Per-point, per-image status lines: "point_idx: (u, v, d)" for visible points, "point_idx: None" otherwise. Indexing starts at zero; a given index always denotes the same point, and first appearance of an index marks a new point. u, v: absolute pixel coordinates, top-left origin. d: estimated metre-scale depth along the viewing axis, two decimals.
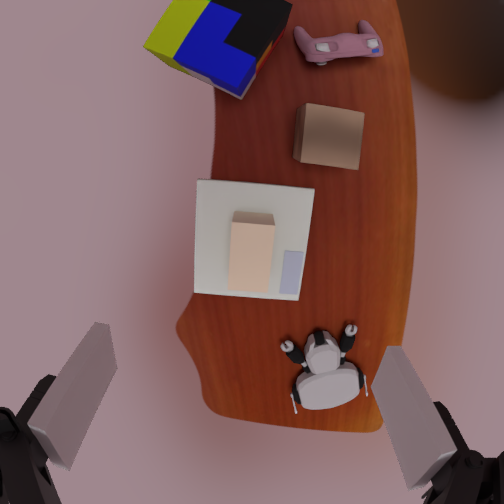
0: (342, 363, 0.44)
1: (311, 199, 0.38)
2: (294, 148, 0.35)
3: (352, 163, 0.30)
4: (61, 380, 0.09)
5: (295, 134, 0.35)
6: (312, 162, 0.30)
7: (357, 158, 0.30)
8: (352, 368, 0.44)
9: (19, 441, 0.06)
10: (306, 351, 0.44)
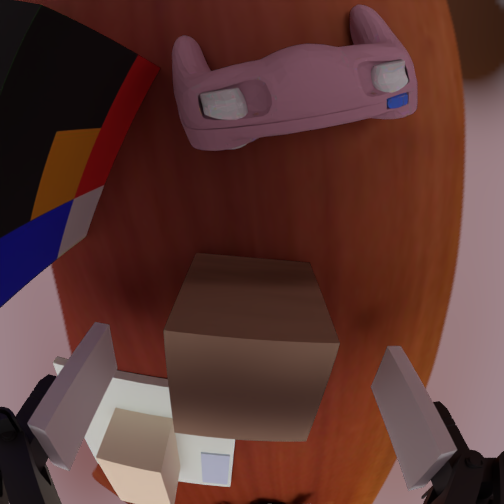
0: None
1: None
2: None
3: (292, 434, 0.12)
4: (61, 380, 0.09)
5: None
6: (200, 434, 0.12)
7: (306, 427, 0.12)
8: None
9: (19, 441, 0.06)
10: None
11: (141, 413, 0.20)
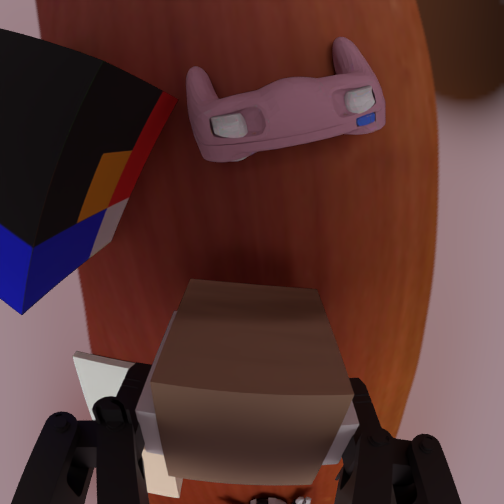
0: None
1: None
2: None
3: (296, 479, 0.10)
4: None
5: None
6: (196, 478, 0.10)
7: (312, 472, 0.10)
8: None
9: (126, 433, 0.08)
10: None
11: None
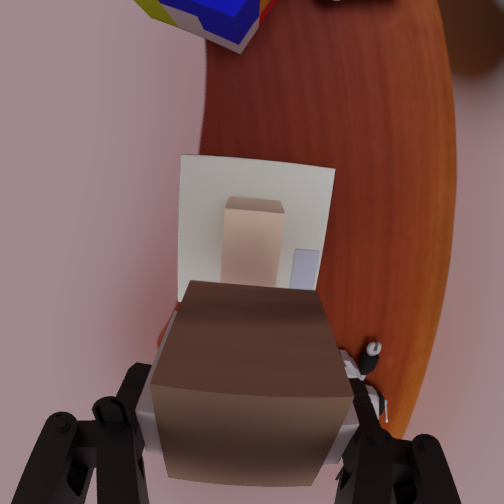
0: None
1: (331, 181, 0.28)
2: None
3: (296, 480, 0.10)
4: None
5: None
6: (196, 480, 0.10)
7: (312, 474, 0.10)
8: (372, 393, 0.35)
9: (126, 433, 0.08)
10: None
11: (253, 197, 0.29)
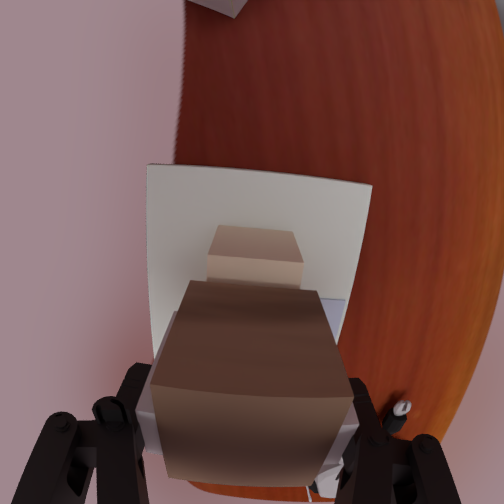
0: None
1: (366, 204, 0.19)
2: None
3: (296, 480, 0.10)
4: None
5: None
6: (196, 480, 0.10)
7: (312, 474, 0.10)
8: None
9: (125, 433, 0.08)
10: None
11: (253, 227, 0.20)
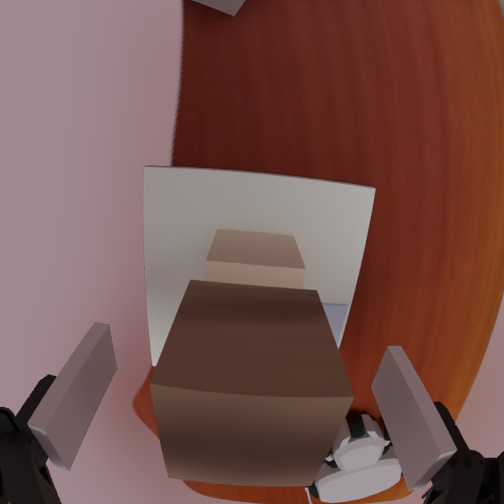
0: (384, 453, 0.25)
1: (369, 207, 0.19)
2: None
3: (296, 480, 0.10)
4: (61, 380, 0.09)
5: None
6: (196, 479, 0.10)
7: (312, 473, 0.10)
8: (396, 456, 0.25)
9: (19, 441, 0.06)
10: (334, 444, 0.25)
11: (253, 231, 0.19)
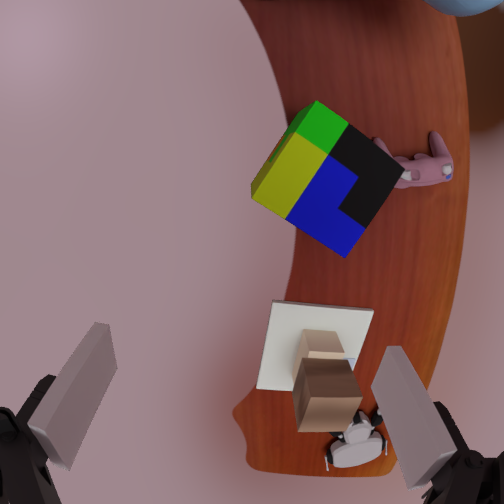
0: (371, 434, 0.47)
1: (370, 318, 0.41)
2: (294, 392, 0.37)
3: (341, 428, 0.32)
4: (61, 380, 0.09)
5: (297, 381, 0.37)
6: (308, 431, 0.32)
7: (347, 425, 0.32)
8: (378, 437, 0.47)
9: (19, 441, 0.06)
10: None
11: (319, 330, 0.41)
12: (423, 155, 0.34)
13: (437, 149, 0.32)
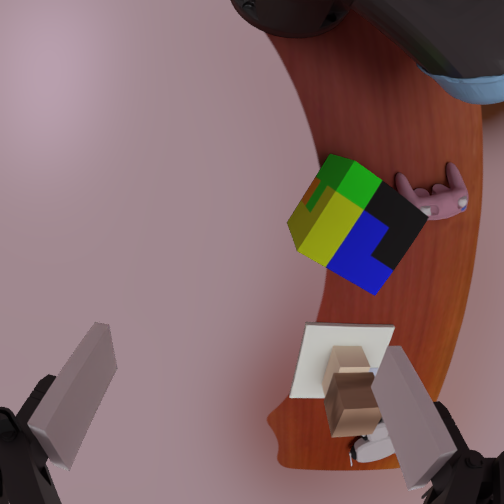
0: None
1: (391, 333, 0.44)
2: (327, 402, 0.41)
3: (368, 432, 0.36)
4: (61, 380, 0.09)
5: (329, 392, 0.41)
6: (340, 436, 0.36)
7: (373, 429, 0.36)
8: None
9: (19, 441, 0.06)
10: None
11: (346, 346, 0.45)
12: (441, 186, 0.36)
13: (454, 181, 0.34)
